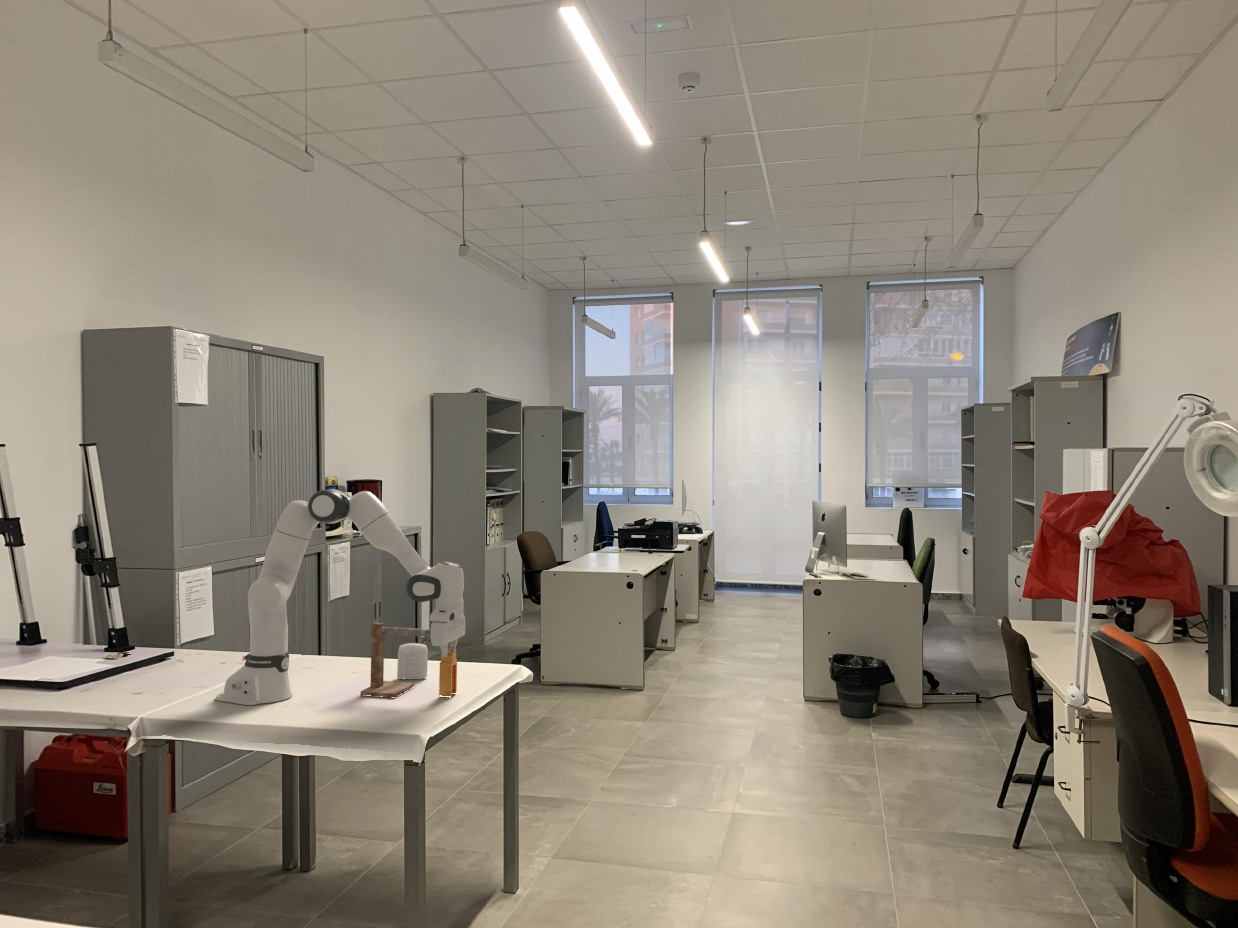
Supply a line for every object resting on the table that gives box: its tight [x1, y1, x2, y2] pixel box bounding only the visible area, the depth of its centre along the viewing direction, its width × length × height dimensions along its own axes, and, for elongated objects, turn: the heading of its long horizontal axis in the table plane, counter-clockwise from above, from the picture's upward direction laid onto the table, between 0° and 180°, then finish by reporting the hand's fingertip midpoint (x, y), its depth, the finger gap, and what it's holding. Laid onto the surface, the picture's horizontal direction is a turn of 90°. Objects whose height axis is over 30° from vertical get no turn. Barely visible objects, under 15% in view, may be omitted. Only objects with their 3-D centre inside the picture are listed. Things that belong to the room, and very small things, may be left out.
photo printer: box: [396, 642, 429, 680], centre depth 281 cm, size 10×4×12 cm, turn 98°
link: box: [438, 650, 458, 696], centre depth 259 cm, size 4×5×14 cm
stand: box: [360, 621, 431, 698], centre depth 262 cm, size 22×14×22 cm, turn 79°
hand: (448, 654), depth 259 cm, fingers open, 4 cm apart
